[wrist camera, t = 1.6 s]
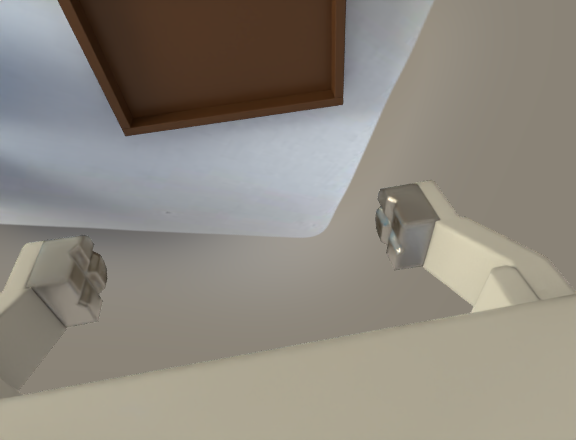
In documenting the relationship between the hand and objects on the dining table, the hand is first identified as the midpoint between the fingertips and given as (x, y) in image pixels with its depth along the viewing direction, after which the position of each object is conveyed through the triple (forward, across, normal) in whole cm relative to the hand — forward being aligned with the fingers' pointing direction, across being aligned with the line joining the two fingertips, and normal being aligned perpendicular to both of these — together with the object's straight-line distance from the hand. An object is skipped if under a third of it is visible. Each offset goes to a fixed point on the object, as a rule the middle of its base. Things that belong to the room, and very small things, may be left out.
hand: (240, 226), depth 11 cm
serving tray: (+25, 0, +3) cm, 25 cm away
